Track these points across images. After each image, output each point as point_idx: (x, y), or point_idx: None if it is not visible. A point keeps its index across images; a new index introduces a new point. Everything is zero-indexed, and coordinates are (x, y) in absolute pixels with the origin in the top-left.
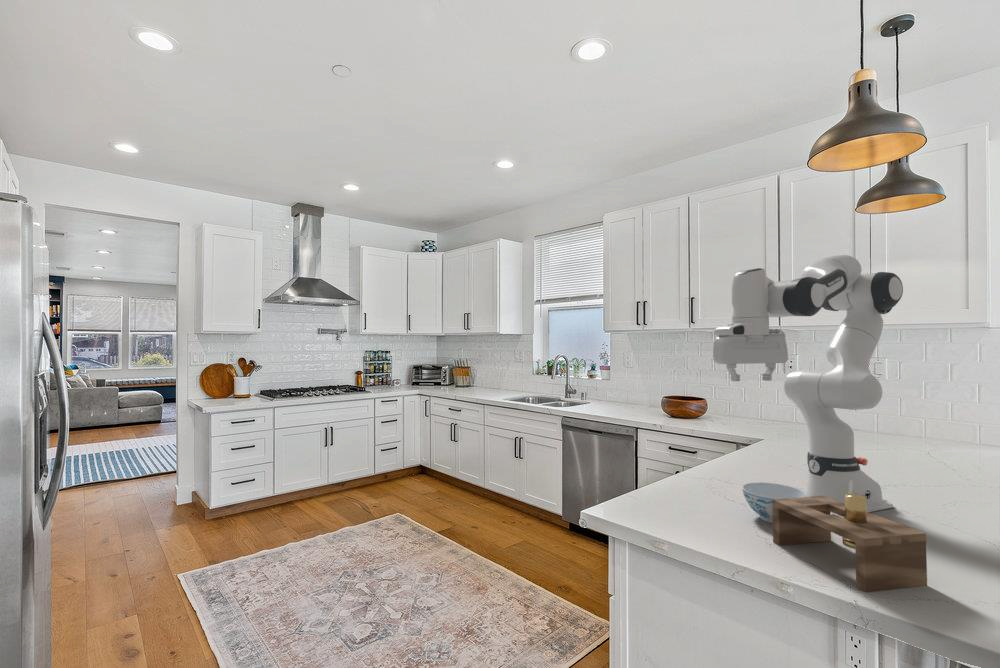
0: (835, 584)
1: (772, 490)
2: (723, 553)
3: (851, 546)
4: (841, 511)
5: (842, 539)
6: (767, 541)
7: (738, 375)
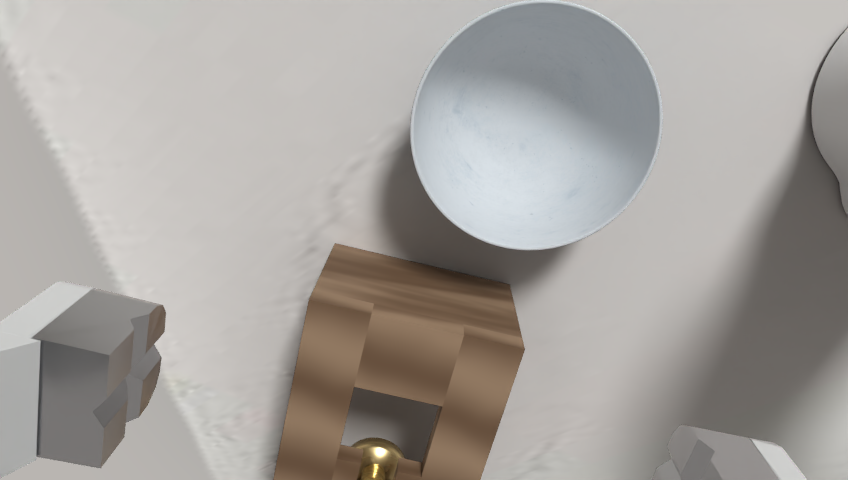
0: (259, 443)
1: (625, 56)
2: (133, 236)
3: None
4: (429, 444)
5: (356, 447)
6: (322, 233)
7: (74, 450)
